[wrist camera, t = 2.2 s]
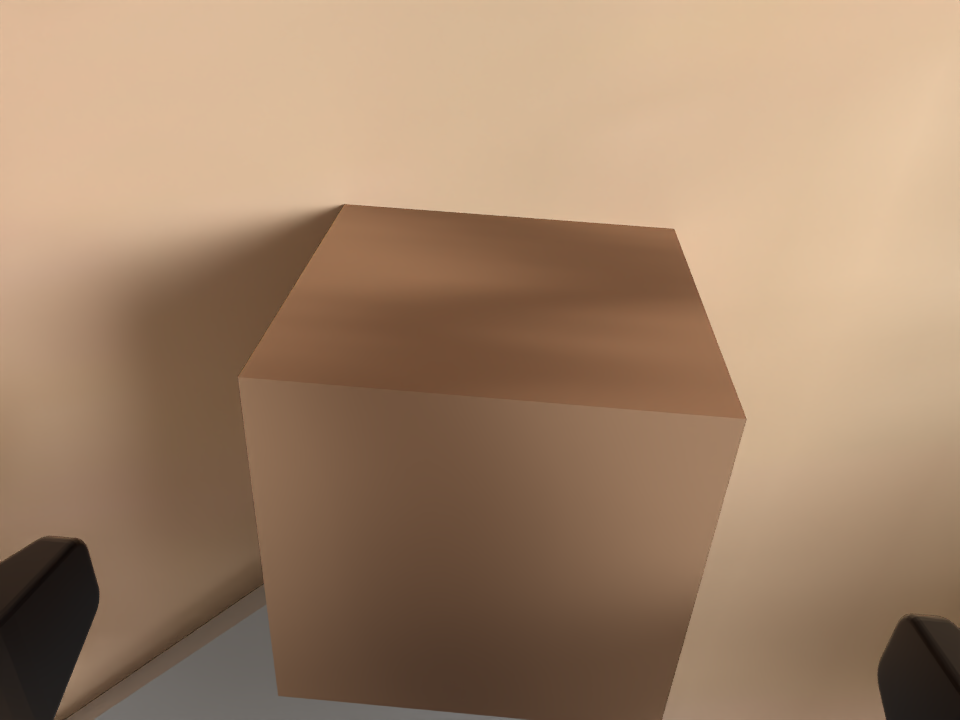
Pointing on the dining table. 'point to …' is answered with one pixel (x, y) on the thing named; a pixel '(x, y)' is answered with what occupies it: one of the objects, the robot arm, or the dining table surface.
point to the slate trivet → (230, 680)
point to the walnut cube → (487, 465)
